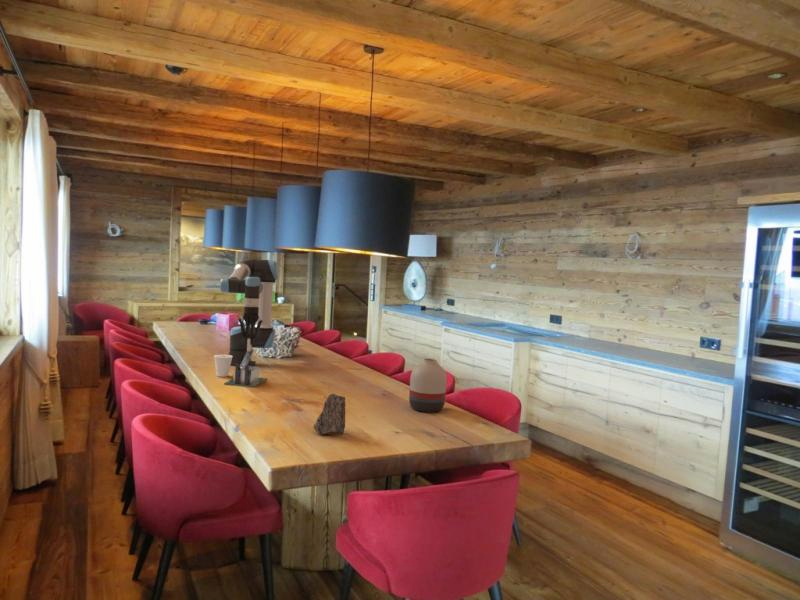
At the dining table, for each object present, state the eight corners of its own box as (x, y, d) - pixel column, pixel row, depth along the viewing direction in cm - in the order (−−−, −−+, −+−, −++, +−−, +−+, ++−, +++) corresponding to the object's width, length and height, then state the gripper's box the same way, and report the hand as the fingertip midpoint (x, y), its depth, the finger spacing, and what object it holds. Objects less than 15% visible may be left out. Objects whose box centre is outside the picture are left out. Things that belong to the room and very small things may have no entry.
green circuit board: (238, 377, 312) (239, 358, 311) (266, 379, 310) (268, 361, 310) (224, 384, 292) (225, 364, 291) (254, 387, 291) (255, 367, 290)
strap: (247, 350, 305) (247, 348, 304) (254, 351, 305) (253, 349, 304) (238, 370, 294) (238, 368, 293) (245, 370, 293) (245, 369, 293)
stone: (350, 436, 219) (353, 398, 218) (317, 438, 213) (319, 399, 212) (340, 427, 230) (342, 390, 230) (308, 428, 225) (310, 391, 224)
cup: (228, 378, 307) (229, 358, 307) (210, 377, 308) (211, 356, 307) (234, 374, 317) (235, 355, 317) (216, 373, 317) (217, 354, 317)
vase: (450, 409, 272) (454, 360, 271) (434, 416, 257) (437, 364, 256) (419, 403, 280) (422, 355, 279) (401, 409, 266) (405, 358, 264)
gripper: (236, 305, 298) (234, 350, 299) (261, 307, 297) (258, 352, 298) (242, 305, 305) (239, 349, 306) (265, 306, 304) (263, 350, 305)
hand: (249, 350), depth 302 cm, fingers closed
